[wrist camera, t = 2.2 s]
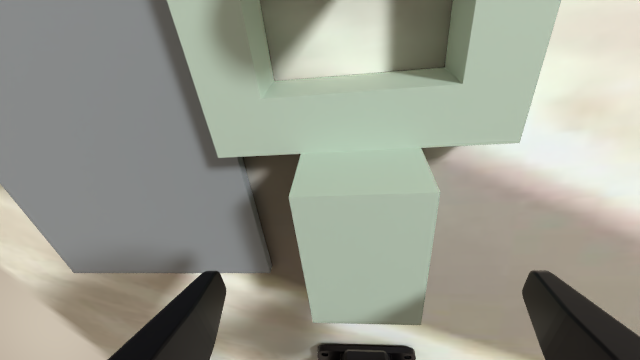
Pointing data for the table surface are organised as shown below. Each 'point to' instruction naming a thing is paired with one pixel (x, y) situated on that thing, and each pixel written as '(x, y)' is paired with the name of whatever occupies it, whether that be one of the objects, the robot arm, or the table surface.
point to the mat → (118, 143)
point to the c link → (365, 139)
